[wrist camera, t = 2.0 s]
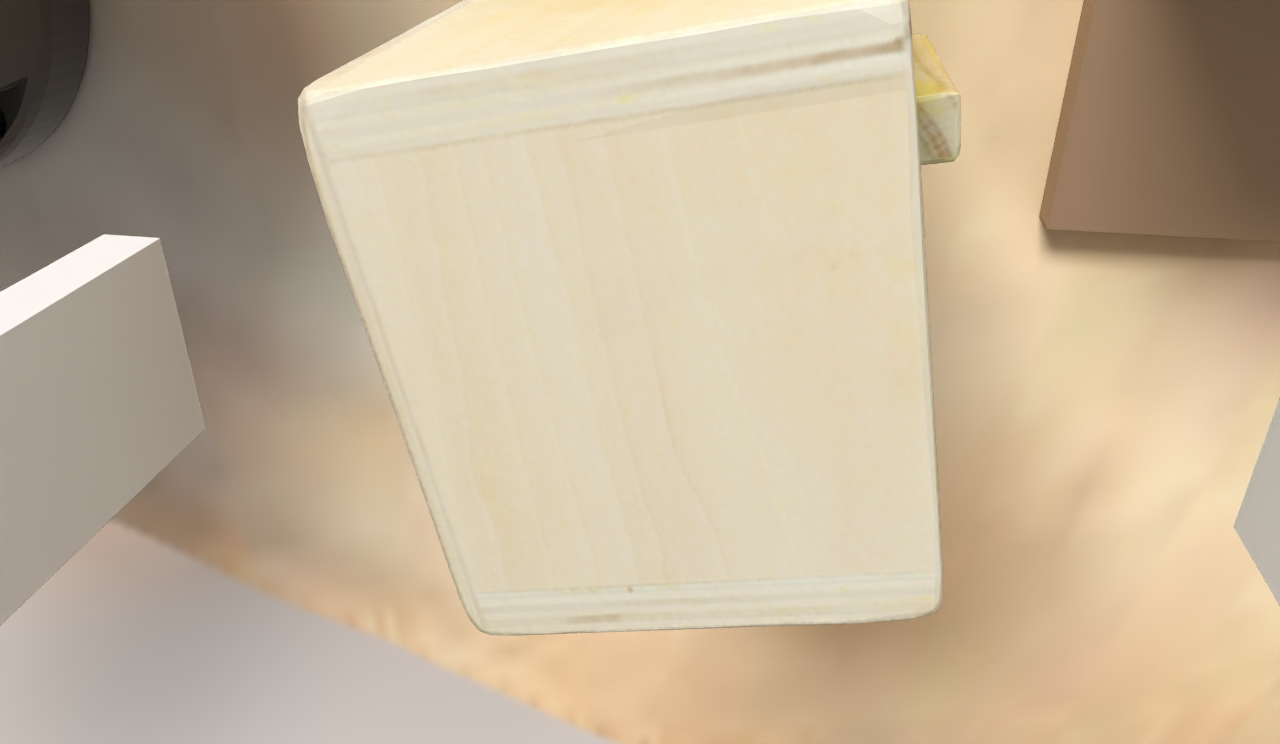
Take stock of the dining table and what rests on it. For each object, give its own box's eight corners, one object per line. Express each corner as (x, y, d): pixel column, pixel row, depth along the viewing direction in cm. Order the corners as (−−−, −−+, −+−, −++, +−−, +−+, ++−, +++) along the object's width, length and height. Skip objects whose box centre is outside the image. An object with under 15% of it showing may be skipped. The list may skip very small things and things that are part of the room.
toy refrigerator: (893, 152, 31) (1002, 630, 12) (660, 182, 32) (456, 645, 14) (874, -133, 27) (988, -47, 9) (613, -83, 29) (259, 77, 10)
